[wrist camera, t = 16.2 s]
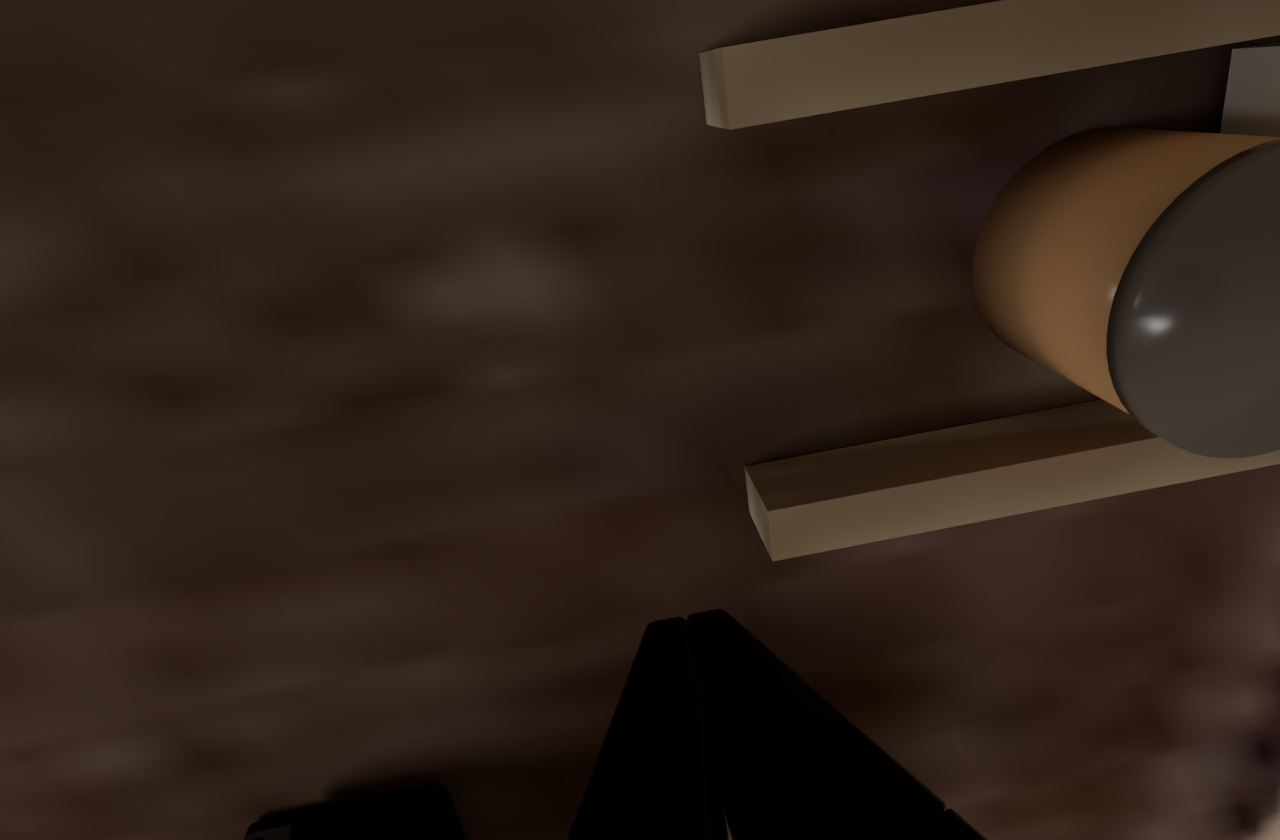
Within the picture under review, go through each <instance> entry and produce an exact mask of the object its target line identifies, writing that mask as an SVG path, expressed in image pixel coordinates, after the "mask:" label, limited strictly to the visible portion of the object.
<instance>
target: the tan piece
mask: <svg viewBox="0 0 1280 840" xmlns="http://www.w3.org/2000/svg"><path fill="white" fill-rule="evenodd" d="M1277 35H1280V0H1002V1H996V2H990V3H984V4H978V5H972V6H966V7H960V8H954V9H948V10H942V11H936V12H930V13H924V14H918V15H912V16H906V17H900V18H895V19H889V20H883V21H877V22H871V23H865V24H859V25H853V26H847V27H841V28H835V29H829V30H823V31H817V32H811V33H805V34H799V35H793V36H788V37H782V38H776V39H770V40H764V41H758V42H752V43H746V44H740V45H734V46H728V47H722V48H718V49H714V50H710V51H706V52H702V53H699V59H700V68H701V77H702V86H703V95H704V104H705V113H706V122H707V125H711V126H715V127H720V128H725V129H729V130H731V129H736V128H742V127H748V126H754V125H760V124H765V123H771V122H777V121H783V120H789V119H795V118H800V117H806V116H812V115H818V114H824V113H829V112H835V111H841V110H847V109H853V108H858V107H864V106H870V105H876V104H882V103H887V102H893V101H899V100H905V99H911V98H917V97H922V96H928V95H934V94H940V93H946V92H951V91H957V90H963V89H969V88H975V87H980V86H986V85H992V84H998V83H1004V82H1009V81H1015V80H1021V79H1027V78H1033V77H1039V76H1044V75H1050V74H1056V73H1062V72H1068V71H1073V70H1079V69H1085V68H1091V67H1097V66H1102V65H1108V64H1114V63H1120V62H1126V61H1131V60H1137V59H1143V58H1149V57H1155V56H1161V55H1166V54H1172V53H1178V52H1184V51H1190V50H1195V49H1201V48H1207V47H1213V46H1219V45H1224V44H1230V43H1236V42H1242V41H1248V40H1253V39H1259V38H1265V37H1271V36H1277ZM1276 464H1280V450H1277V451H1273V452H1270V453H1266V454H1263V455H1257V456H1251V457H1245V458H1214V457H1206V456H1202V455H1198V454H1194V453H1190V452H1188V451H1186V450H1183V449H1181V448H1179V447H1176V446H1175V445H1173V444H1171V443H1169V442H1168V441H1166V440H1164V439H1162V438H1160V437H1159V436H1157V435H1155V434H1154V433H1152V432H1151V431H1149V430H1147V429H1146V428H1144V427H1143V426H1141V425H1140V424H1139V423H1138V422H1137V421H1136V420H1135V419H1134V418H1133V417H1132V416H1131V415H1130V414H1128V413H1126V412H1124V411H1123V410H1121V409H1119V408H1117V407H1115V406H1114V405H1112V404H1110V403H1108V402H1106V401H1105V400H1103V399H1101V400H1095V401H1090V402H1085V403H1079V404H1074V405H1069V406H1063V407H1058V408H1053V409H1048V410H1042V411H1037V412H1032V413H1026V414H1021V415H1016V416H1010V417H1005V418H1000V419H994V420H989V421H984V422H978V423H973V424H968V425H962V426H957V427H952V428H946V429H941V430H936V431H930V432H925V433H920V434H914V435H909V436H904V437H898V438H893V439H888V440H882V441H877V442H872V443H867V444H861V445H856V446H851V447H845V448H840V449H835V450H829V451H824V452H819V453H813V454H808V455H803V456H797V457H792V458H787V459H781V460H776V461H771V462H765V463H760V464H755V465H749V466H744V467H745V476H746V485H747V494H748V503H749V512H750V514H751V516H752V519H753V521H754V523H755V525H756V527H757V529H758V531H759V534H760V536H761V538H762V540H763V542H764V544H765V546H766V549H767V551H768V553H769V555H770V557H771V559H772V561H777V560H782V559H788V558H793V557H798V556H803V555H808V554H814V553H819V552H824V551H829V550H834V549H839V548H845V547H850V546H855V545H860V544H865V543H871V542H876V541H881V540H886V539H891V538H897V537H902V536H907V535H912V534H917V533H923V532H928V531H933V530H938V529H943V528H949V527H954V526H959V525H964V524H969V523H975V522H980V521H985V520H990V519H995V518H1001V517H1006V516H1011V515H1016V514H1021V513H1026V512H1032V511H1037V510H1042V509H1047V508H1052V507H1058V506H1063V505H1068V504H1073V503H1078V502H1084V501H1089V500H1094V499H1099V498H1104V497H1110V496H1115V495H1120V494H1125V493H1130V492H1136V491H1141V490H1146V489H1151V488H1156V487H1162V486H1167V485H1172V484H1177V483H1182V482H1188V481H1193V480H1198V479H1203V478H1208V477H1213V476H1219V475H1224V474H1229V473H1234V472H1239V471H1245V470H1250V469H1255V468H1260V467H1265V466H1271V465H1276Z"/></svg>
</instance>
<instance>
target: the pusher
mask: <svg viewBox="0 0 1280 840" xmlns="http://www.w3.org/2000/svg"><path fill="white" fill-rule="evenodd" d="M1220 134H1236V135H1252V136H1268V137H1280V42H1271V43H1265V44H1259V45H1253V46H1247V47H1242V48H1236V49H1232V55H1231V62H1230V69H1229V76H1228V83H1227V89H1226V96H1225V103H1224V110H1223V116H1222V123H1221V130H1220Z"/></svg>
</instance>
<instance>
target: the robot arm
mask: <svg viewBox="0 0 1280 840" xmlns="http://www.w3.org/2000/svg"><path fill="white" fill-rule="evenodd" d="M432 803H436V804H432ZM724 811H725V813H724ZM725 814H726V818H727V822H728V826H729V830H730V833H731V836H732V839H733V840H987V839H986V838H985V837H983V836H982V835H981V834H980V833H979V832H978V831H977V830H976V829H974V828H973V827H972V826H971V825H970V824H969V823H968V822H966V821H965V820H964V819H963V818H962V817H961V816H960V815H959V814H957V813H956V812H955V811H954V810H953V809H947V810H946V805H945V803H944V802H943V801H942V800H941V799H940V798H939V797H938V796H936V795H935V794H934V793H933V792H932V791H931V790H930V789H928V788H927V787H926V786H925V785H924V784H923V783H922V782H920V781H919V780H918V779H917V778H916V777H915V776H914V775H912V774H911V773H910V772H909V771H908V770H907V769H906V768H904V767H903V766H902V765H901V764H900V763H899V762H898V761H896V760H895V759H894V758H893V757H892V756H891V755H890V754H888V753H887V752H886V751H885V750H884V749H883V748H882V747H880V746H879V745H878V744H877V743H876V742H875V741H874V740H872V739H871V738H870V737H869V736H868V735H867V734H866V733H864V732H863V731H862V730H861V729H860V728H859V727H858V726H856V725H855V724H854V723H853V722H852V721H851V720H850V719H848V718H847V717H846V716H845V715H844V714H843V713H842V712H840V711H839V710H838V709H837V708H836V707H835V706H834V705H832V704H831V703H830V702H829V701H828V700H827V699H826V698H824V697H823V696H822V695H821V694H820V693H819V692H818V691H816V690H815V689H814V688H813V687H812V686H811V685H810V684H808V683H807V682H806V681H805V680H804V679H803V678H802V677H800V676H799V675H798V674H797V673H796V672H795V671H794V670H792V669H791V668H790V667H789V666H788V665H787V664H786V663H784V662H783V661H782V660H781V659H780V658H779V657H778V656H776V655H775V654H774V653H773V652H772V651H771V650H770V649H768V648H767V647H766V646H765V645H764V644H763V643H762V642H760V641H759V640H758V639H757V638H756V637H755V636H754V635H752V634H751V633H750V632H749V631H748V630H747V629H746V628H744V627H743V626H742V625H741V624H740V623H739V622H738V621H736V620H735V619H734V618H733V617H732V616H731V615H730V614H728V613H727V612H726V611H725V610H722V609H715V610H710V611H705V612H700V613H694V614H691V615H689V616H688V618H687V622H686V620H685V619H684V618H683V617H674V618H669V619H664V620H658V621H653V622H651V623H649V624H648V625H647V627H646V629H645V632H644V635H643V637H642V640H641V643H640V645H639V648H638V651H637V653H636V656H635V659H634V661H633V664H632V667H631V669H630V672H629V675H628V678H627V680H626V683H625V686H624V688H623V691H622V694H621V696H620V699H619V702H618V704H617V707H616V710H615V712H614V715H613V718H612V720H611V723H610V726H609V728H608V731H607V734H606V736H605V739H604V742H603V744H602V747H601V750H600V752H599V755H598V758H597V760H596V763H595V766H594V768H593V771H592V774H591V776H590V779H589V782H588V784H587V787H586V790H585V792H584V795H583V798H582V800H581V803H580V806H579V808H578V811H577V814H576V816H575V819H574V822H573V824H572V827H571V830H570V833H569V835H568V838H567V840H728V833H727V826H726V819H725ZM244 840H466V839H465V836H464V833H463V830H462V827H461V825H460V822H459V819H458V816H457V814H456V811H455V808H454V805H453V803H452V800H451V797H450V795H449V793H448V792H447V791H446V790H445V789H443V788H440V787H428V788H423V789H418V790H413V791H408V792H403V793H398V794H393V795H388V796H383V797H378V798H373V799H368V800H363V801H358V802H353V803H347V804H342V805H337V806H332V807H327V808H322V809H317V810H312V811H307V812H302V813H297V814H292V815H287V816H282V817H277V818H272V819H267V820H262V821H258V822H255V823H253V824H252V825H250V826H249V828H248V830H247V833H246V835H245V838H244Z"/></svg>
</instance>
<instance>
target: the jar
mask: <svg viewBox="0 0 1280 840" xmlns="http://www.w3.org/2000/svg"><path fill="white" fill-rule="evenodd" d="M973 288H974V293H975V298H976V302H977V305H978V308H979V310H980V313H981V315H982V317H983V319H984V320H985V322H986V324H987V326H988V327H989V328H990V330H991V331H992V332H993V333H994V335H995V336H996V337H998V338H999V339H1000V340H1001V341H1002V342H1003V343H1004V344H1006V345H1007V346H1009V347H1010V348H1012V349H1013V350H1015V351H1017V352H1019V353H1020V354H1022V355H1024V356H1026V357H1028V358H1029V359H1031V360H1033V361H1035V362H1037V363H1038V364H1040V365H1042V366H1044V367H1046V368H1047V369H1049V370H1051V371H1053V372H1055V373H1056V374H1058V375H1060V376H1062V377H1063V378H1065V379H1067V380H1069V381H1071V382H1072V383H1074V384H1076V385H1078V386H1080V387H1081V388H1083V389H1085V390H1087V391H1089V392H1090V393H1092V394H1094V395H1096V396H1097V397H1099V398H1101V399H1103V400H1105V401H1106V402H1108V403H1110V404H1112V405H1114V406H1115V407H1117V408H1119V409H1121V410H1123V411H1124V412H1126V413H1128V414H1130V415H1131V416H1132V417H1133V418H1134V419H1135V420H1136V421H1137V422H1138V423H1139V424H1140V425H1141V426H1143V427H1144V428H1146V429H1147V430H1149V431H1151V432H1152V433H1154V434H1155V435H1157V436H1159V437H1160V438H1162V439H1164V440H1166V441H1168V442H1169V443H1171V444H1173V445H1175V446H1176V447H1179V448H1181V449H1183V450H1186V451H1188V452H1190V453H1194V454H1198V455H1202V456H1206V457H1214V458H1245V457H1251V456H1257V455H1263V454H1266V453H1270V452H1273V451H1277V450H1280V137H1268V136H1252V135H1236V134H1219V133H1203V132H1187V131H1171V130H1155V129H1139V128H1123V127H1104V128H1097V129H1090V130H1087V131H1083V132H1079V133H1076V134H1073V135H1071V136H1069V137H1066V138H1064V139H1061V140H1059V141H1057V142H1056V143H1054V144H1052V145H1050V146H1049V147H1047V148H1045V149H1044V150H1042V151H1041V152H1040V153H1038V154H1037V155H1035V156H1034V157H1033V158H1031V159H1030V160H1029V161H1028V162H1027V163H1026V164H1025V165H1024V166H1022V167H1021V168H1020V169H1019V170H1018V171H1017V172H1016V173H1015V174H1014V176H1013V177H1012V178H1011V179H1010V180H1009V181H1008V182H1007V183H1006V185H1005V186H1004V188H1003V189H1002V190H1001V192H1000V193H999V195H998V196H997V197H996V199H995V201H994V202H993V204H992V206H991V208H990V210H989V211H988V213H987V215H986V218H985V220H984V222H983V225H982V227H981V230H980V233H979V236H978V239H977V243H976V248H975V253H974V258H973Z"/></svg>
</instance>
